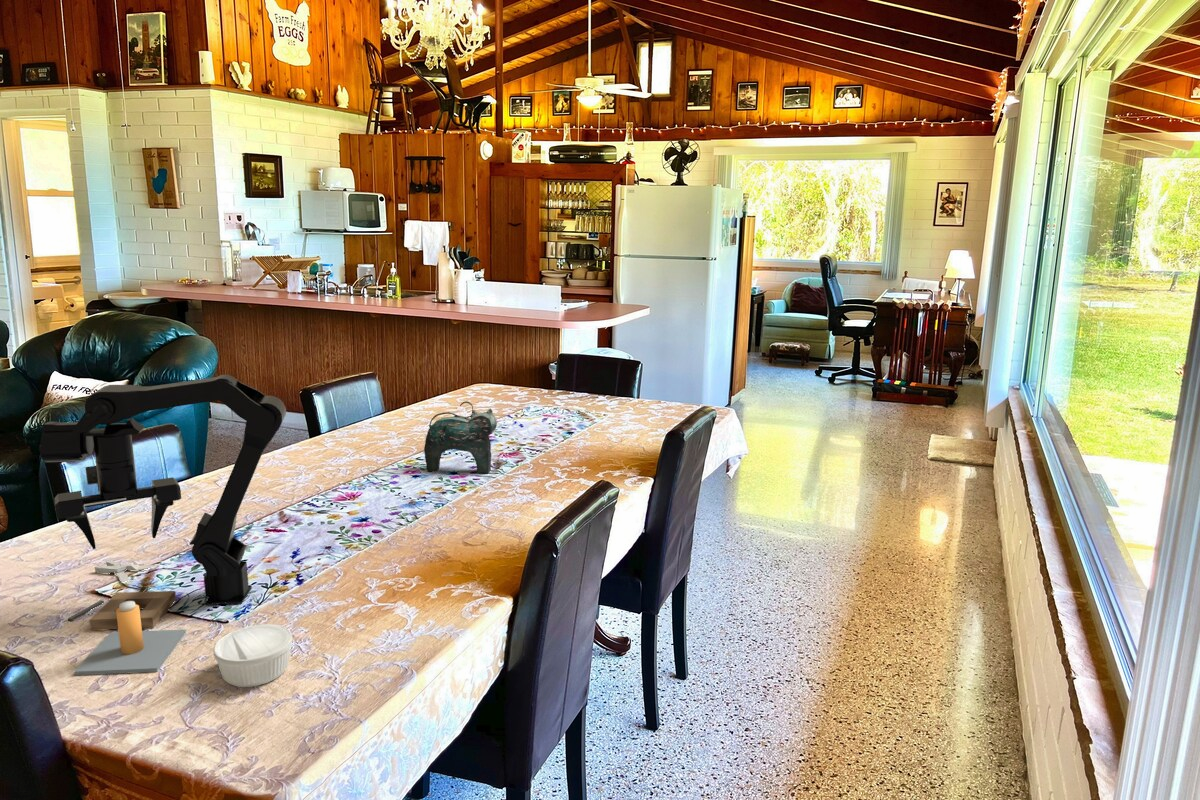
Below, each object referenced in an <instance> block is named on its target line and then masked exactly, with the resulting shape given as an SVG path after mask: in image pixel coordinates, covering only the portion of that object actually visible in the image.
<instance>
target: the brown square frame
mask: <svg viewBox="0 0 1200 800" xmlns="http://www.w3.org/2000/svg"><path fill="white" fill-rule="evenodd" d="M176 596H177V595H176V590H160V591H159V590H158V591H134V592H133V591H130V592H125V591H124V592H116V593H115V594H114V595H113V596H112V597H111V598H110V599H108V601H107V602H105V603H104V605H103V606H102V607H101V608H100V609H99V610H98V611H97V612H96V613H95V614H94V615H93V616H92V617H91V618H90V619H89V623H90V631H104V630H103V629H117V630H118V622H117V614H116V610H117V609H118V608H119V605H120V604H121V603H123V602H126V601H134V602H135V604H137V605H139V610H140V618H141V627H142V628H144V629H154V628H155V627H156V626H157V625H158V624H159V622H160V621H161V620H162V618H164V617H165V615H166V614H167V612H169V610H170V609H171V608H170V606H171V605H172V604H173V602H174V601H175V600H176V601H177V597H176ZM173 605H174V604H173ZM173 605H172V606H173ZM172 606H171V607H172ZM140 608H141V609H140ZM142 608H144V609H142ZM169 608H170V609H169ZM168 609H169V610H168ZM156 624H157V625H156Z"/></svg>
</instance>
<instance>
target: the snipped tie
mask: <svg viewBox="0 0 1200 800" xmlns="http://www.w3.org/2000/svg"><path fill="white" fill-rule="evenodd" d="M102 603H103V604H105V601H104V600H98V601H97V602H94V603H93V604H91V605H89V606H87V607H86V608H84V609H82V610H80V611H79V612H76V613H75V614H73V615H70V616H69V617H68V618H67V621H69V622H73V621H75V620H76V619H79V618H80V617H81V615H82V616H83V615H85V614H87V613H89V612H91V611H92V610H94V609H96V608H97V606H98V607H99V605H100V606H101V605H103V604H102ZM95 607H96V608H95ZM93 608H94V609H93ZM91 609H92V610H91ZM90 610H91V611H90ZM88 611H89V612H88ZM86 612H87V613H86ZM74 619H75V620H74Z"/></svg>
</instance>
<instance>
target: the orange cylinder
mask: <svg viewBox="0 0 1200 800" xmlns="http://www.w3.org/2000/svg"><path fill="white" fill-rule="evenodd" d="M140 611H141V609H139V605H137V604H135V602H134V601H126V602H123V603H121V604H120V605H119V608H118V609H117V610H116V614H117V622H118V629H117V632H119V639H120V647H121V653H122V654H125V655H130V654H135V653H138V652H140V651H141V650H143V648H144V644H143V636H142V631H143V629H142V627H141V618H140Z"/></svg>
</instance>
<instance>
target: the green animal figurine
mask: <svg viewBox="0 0 1200 800" xmlns="http://www.w3.org/2000/svg"><path fill="white" fill-rule="evenodd" d="M464 404H469V405H470V406H471V409H472V410H471V414H470V415H468V416H462V415H458V414H456V413H454V412H449V411H448V412H440V413H437V414H434V416H433V417H432V418H431V419H430V421H429V425H428V431H427V433H426V436H425V440H424V441H425V442H424V447H423V448H424V449H423V450H424V451H423V453H424V459H425V466H426V467H425V468H426V471H429V472H438V471H439V470H440V463H441V457H442V455H443V453H445V452H446V451H449V450H456V451H462V452H468V453H470V455H472V458H473V459H474V461H475V465H476V473H477V474H478V475H479V474H484V475H486V474H489V473H490V472H491V470H492V468H491V467H492V452H491V451H492V443H491V440H490V435H492V433H493V432H494V431H495V430H496V428H497V425H498V421H497V417H496V416H495V415H494V412H493V409H492V408H489V409H488V410H487V411H486V412H485V411H483V412H478V411H476V410H475V409H474V405H473V404H472V403H471V401H468V400H467V401H462V402H461V404H459V405H460V407H462V405H464ZM445 414H447V415H452V416H446V417H441V418H439V419H437V420H436V421H435V422H434V423H432V421H433V420H434V419H436V418H437V417H438V416H441V415H445Z"/></svg>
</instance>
